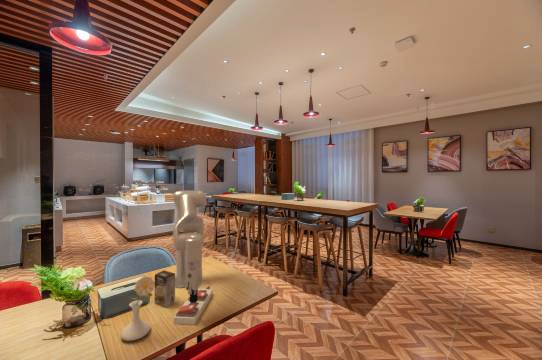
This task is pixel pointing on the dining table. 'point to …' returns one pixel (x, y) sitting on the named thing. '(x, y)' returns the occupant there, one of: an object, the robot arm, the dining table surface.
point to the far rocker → (201, 295)
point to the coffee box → (164, 288)
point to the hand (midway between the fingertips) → (193, 301)
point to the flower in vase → (137, 325)
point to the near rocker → (187, 309)
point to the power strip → (193, 317)
